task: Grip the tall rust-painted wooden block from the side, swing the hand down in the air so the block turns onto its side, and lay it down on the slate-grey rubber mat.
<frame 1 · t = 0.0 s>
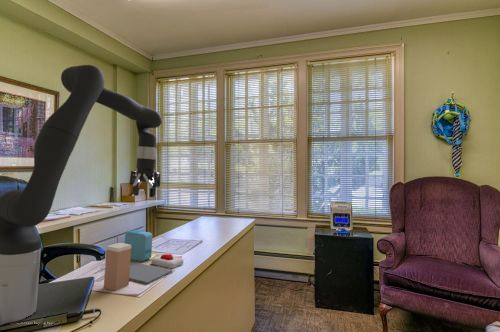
hand: (143, 196, 116), 29 cm above the table, tool pointing down, fingers open, 8 cm apart
mat: (139, 273, 108), on the table
block: (116, 286, 95), on the table
red push button: (168, 264, 121), on the table
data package: (137, 258, 125), on the table
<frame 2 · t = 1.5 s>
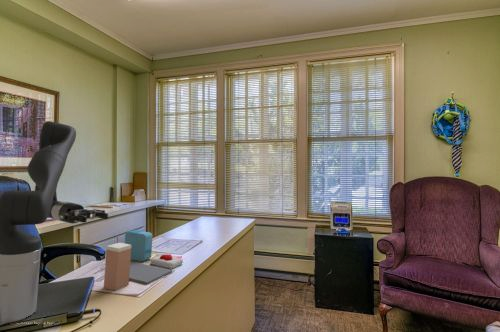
hand: (96, 217, 100), 22 cm above the table, tool horizontal, fingers open, 8 cm apart
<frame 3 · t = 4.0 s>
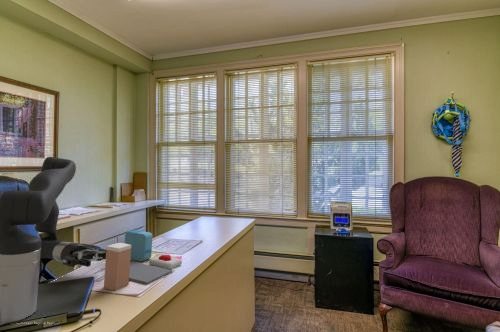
hand: (100, 260, 98), 8 cm above the table, tool horizontal, fingers open, 8 cm apart
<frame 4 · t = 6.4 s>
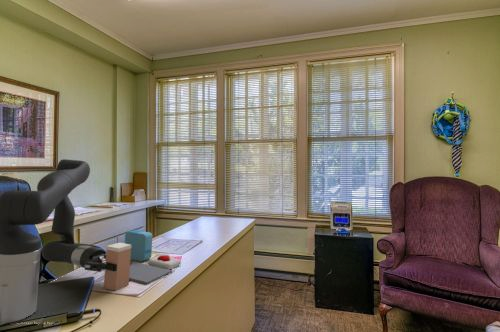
hand: (123, 265, 94), 8 cm above the table, tool horizontal, fingers closed on block, 5 cm apart
block: (116, 286, 95), on the table, touching gripper
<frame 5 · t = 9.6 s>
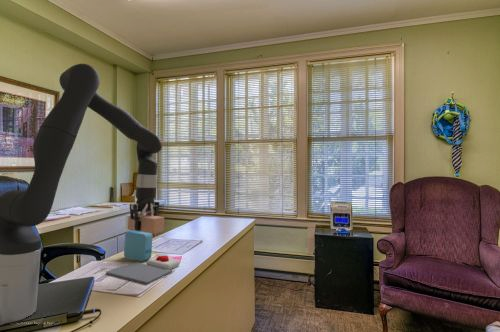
hand: (143, 229, 108), 17 cm above the table, tool pointing down, fingers closed on block, 5 cm apart
block: (159, 225, 105), point 20 cm above the table, tilted 90°, touching gripper
when the fingers open (3 cm above the table, at t = 13.3 s): block drops 2 cm, resting on mat.
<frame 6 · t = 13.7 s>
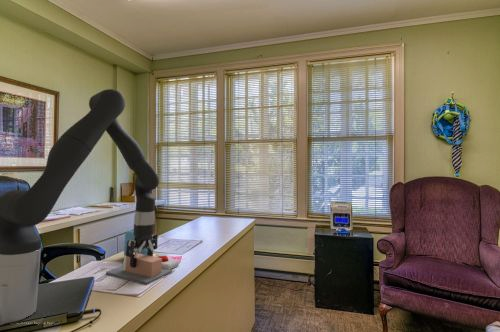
hand: (141, 264, 108), 4 cm above the table, tool pointing down, fingers open, 8 cm apart
block: (156, 267, 105), point 4 cm above the table, tilted 90°, touching mat
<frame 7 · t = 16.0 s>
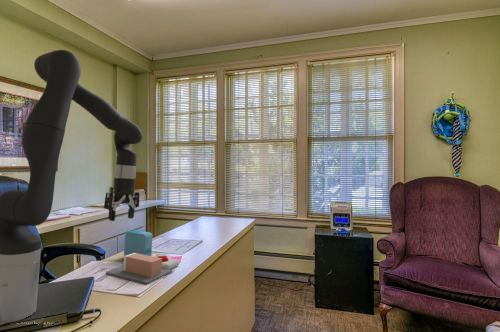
hand: (121, 219, 105), 21 cm above the table, tool pointing down, fingers open, 8 cm apart
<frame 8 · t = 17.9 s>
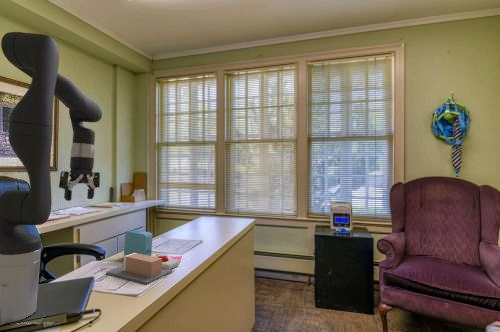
hand: (79, 199, 102), 28 cm above the table, tool pointing down, fingers open, 8 cm apart
at the end: block tilted 90°; block inside the target area on the mat (7.9 cm from its centre), point 3.5 cm above the mat's base; block touching mat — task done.
